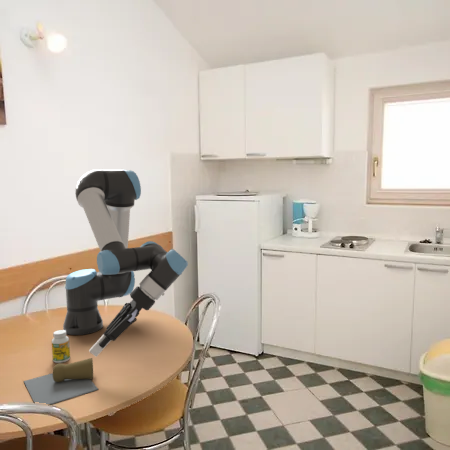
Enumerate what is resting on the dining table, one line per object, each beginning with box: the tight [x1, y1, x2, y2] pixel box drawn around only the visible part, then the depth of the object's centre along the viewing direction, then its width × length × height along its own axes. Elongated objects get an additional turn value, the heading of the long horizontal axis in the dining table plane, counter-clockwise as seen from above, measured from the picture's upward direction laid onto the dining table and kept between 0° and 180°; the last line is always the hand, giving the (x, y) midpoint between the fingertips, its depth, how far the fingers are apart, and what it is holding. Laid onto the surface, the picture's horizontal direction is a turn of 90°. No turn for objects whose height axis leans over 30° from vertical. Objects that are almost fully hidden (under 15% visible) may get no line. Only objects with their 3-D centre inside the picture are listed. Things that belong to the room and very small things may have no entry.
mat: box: [23, 372, 99, 405], centre depth 116 cm, size 18×16×1 cm
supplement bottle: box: [51, 329, 71, 364], centre depth 133 cm, size 5×5×10 cm
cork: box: [52, 357, 94, 382], centre depth 119 cm, size 6×6×11 cm
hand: (92, 353), depth 120 cm, fingers closed
